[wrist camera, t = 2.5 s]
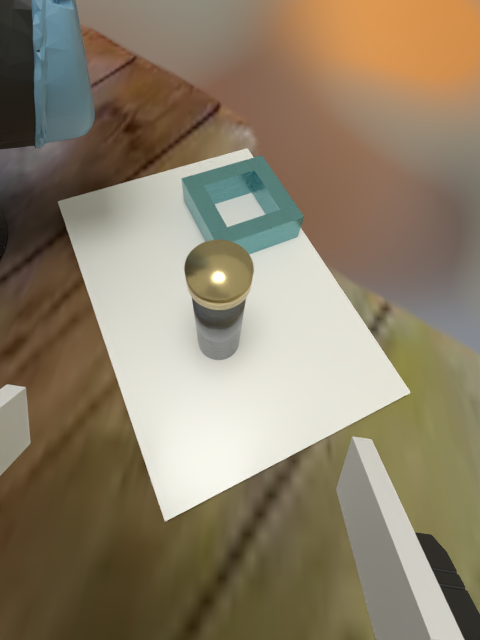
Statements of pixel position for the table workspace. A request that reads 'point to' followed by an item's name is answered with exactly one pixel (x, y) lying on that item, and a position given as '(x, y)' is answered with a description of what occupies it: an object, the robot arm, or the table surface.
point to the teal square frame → (234, 183)
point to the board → (249, 359)
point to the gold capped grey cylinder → (218, 294)
